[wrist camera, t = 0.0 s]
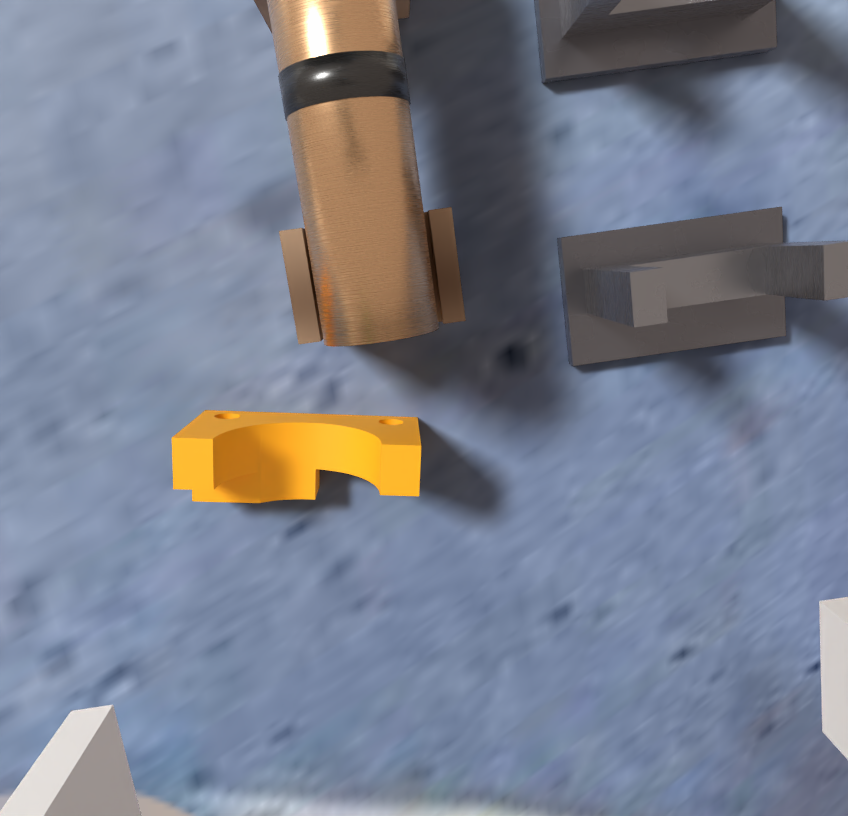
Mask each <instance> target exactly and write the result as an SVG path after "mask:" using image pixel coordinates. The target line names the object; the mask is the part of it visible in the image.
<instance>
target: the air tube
mask: <svg viewBox="0 0 848 816" xmlns="http://www.w3.org/2000/svg"><path fill="white" fill-rule="evenodd" d="M267 4H268V10H269V16H270V22H271V28H272V34H273V40H274V46H275V52H276V58H277V64H278V70H279V76H278V77H279V83H280V89H281V95H282V101H283V107H284V113H285V119H286V121H287V123H288V129H289V135H290V141H291V147H292V153H293V159H294V165H295V171H296V177H297V183H298V189H299V195H300V201H301V207H302V213H303V219H304V225H305V231H306V237H307V243H308V249H309V255H310V261H311V267H312V273H313V279H314V285H315V291H316V297H317V303H318V309H319V315H320V321H321V327H322V333H323V339H324V345H326V346H353V345H364V344H372V343H380V342H387V341H393V340H399V339H404V338H409V337H414V336H419V335H423V334H426V333H430V332H433V331H435V330H437V329H439V325H438V317H437V310H436V302H435V295H434V287H433V280H432V272H431V265H430V257H429V250H428V242H427V234H426V227H425V219H424V212H423V204H422V197H421V189H420V182H419V174H418V167H417V159H416V152H415V144H414V137H413V129H412V121H411V114H410V106H409V105H410V97H409V89H408V82H407V74H406V67H405V60H404V58H403V54H402V46H401V39H400V31H399V23H398V16H397V8H396V1H395V0H267Z"/></svg>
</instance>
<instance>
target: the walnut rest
mask: <svg viewBox="0 0 848 816" xmlns="http://www.w3.org/2000/svg"><path fill="white" fill-rule="evenodd" d="M254 1H255V3H256V5H257V7H258V9H259V11H260V12H261V14H262V16H263V18H264V20H265V21H266V23H267V25H268V27H269V29H270V31H271V32H272V28H271V22H270V16H269V10H268V4H267V0H254ZM395 1H396V8H397V16H398V19H402V18H409V10H410V0H395ZM424 219H425V227H426V234H427V242H428V250H429V257H430V265H431V272H432V280H433V287H434V295H435V302H436V310H437V317H438V322H443V324H446V323H453V322H460V321H466V320H465V312H464V304H463V296H462V288H461V280H460V272H459V264H458V256H457V248H456V240H455V232H454V224H453V216H452V208H451V207H449V208H442V209H435V210H429V211H428V212H424ZM279 234H280V240H281V245H282V251H283V257H284V263H285V268H286V274H287V280H288V285H289V291H290V297H291V303H292V308H293V314H294V320H295V325H296V331H297V337H298V343H299V344H305V343H312V342H319V341H321V340H322V339H323V333H322V327H321V321H320V315H319V309H318V303H317V297H316V291H315V285H314V279H313V273H312V267H311V261H310V255H309V249H308V243H307V237H306V231H305V229H303V228H299V229H291V230H284V231H279Z"/></svg>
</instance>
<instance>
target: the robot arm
mask: <svg viewBox="0 0 848 816" xmlns="http://www.w3.org/2000/svg"><path fill="white" fill-rule="evenodd" d="M819 604H820V648H821V692H822V732H823V733H824V734H825V735H826V736H827V737H828V738H829V739H830V741H831V742H832V743H833V744H834V745H835V746H836V747H837V748H838V749H839V751H840V752H841V753H842V754H843V755H844V756H845V757H846V758H847V759H848V597H844V598H838V599H831V600H824V601H819ZM0 816H141V812H140V808H139V804H138V800H137V796H136V792H135V788H134V784H133V781H132V777H131V773H130V769H129V765H128V761H127V757H126V753H125V749H124V746H123V742H122V738H121V734H120V730H119V726H118V722H117V718H116V714H115V710H114V707H113V705H108V706H102V707H95V708H88V709H81V710H74V711H71V712H70V714H69V715H68V716H67V718H66V719H65V721H64V722H63V723H62V725H61V726H60V728H59V729H58V730H57V732H56V733H55V735H54V736H53V738H52V739H51V740H50V742H49V743H48V745H47V746H46V747H45V749H44V750H43V752H42V753H41V754H40V756H39V757H38V759H37V760H36V761H35V763H34V764H33V766H32V767H31V769H30V770H29V771H28V773H27V774H26V776H25V777H24V778H23V780H22V781H21V783H20V784H19V785H18V787H17V788H16V790H15V791H14V793H13V794H12V795H11V797H10V798H9V800H8V801H7V802H6V804H5V805H4V807H3V808H2V810H1V811H0Z"/></svg>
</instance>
